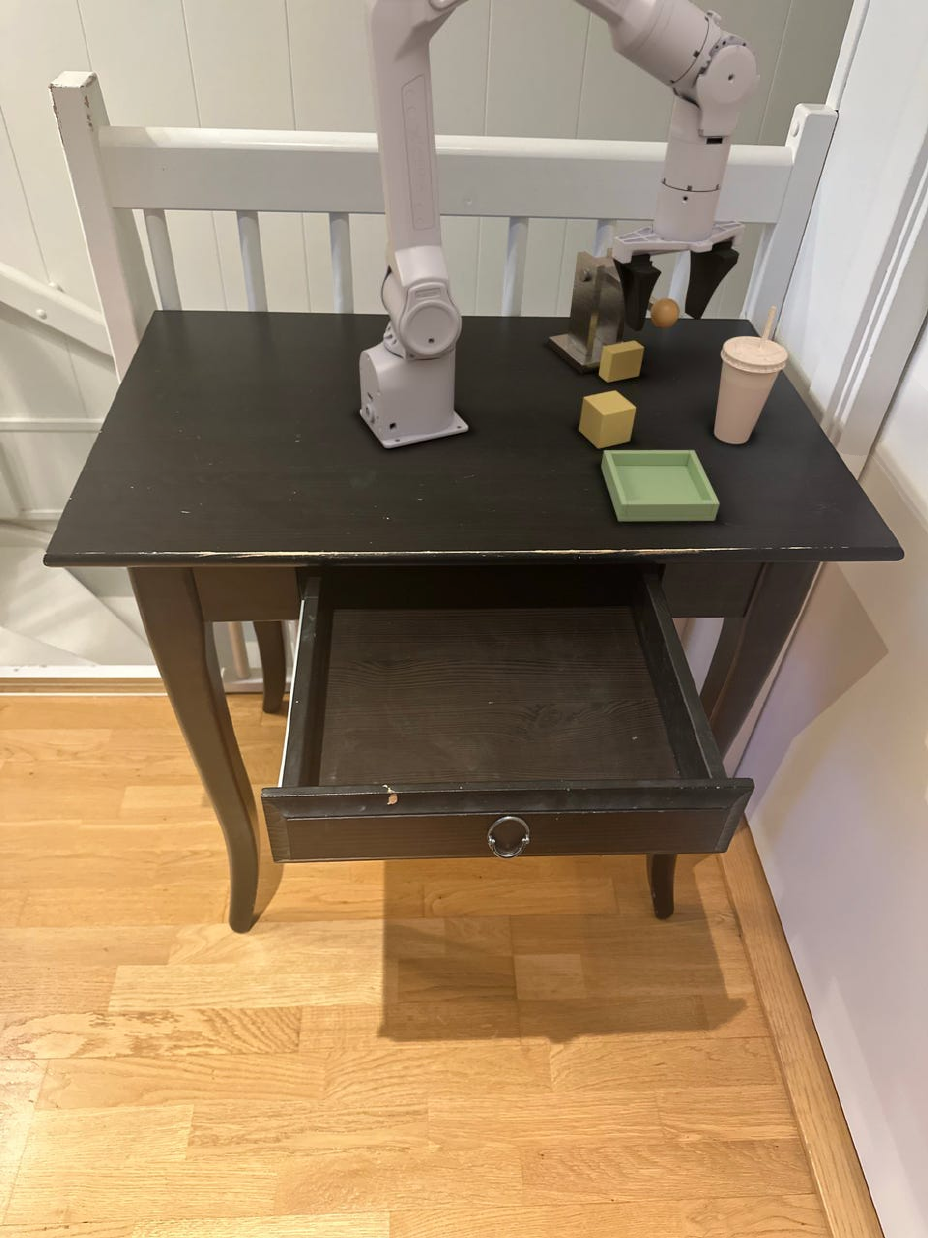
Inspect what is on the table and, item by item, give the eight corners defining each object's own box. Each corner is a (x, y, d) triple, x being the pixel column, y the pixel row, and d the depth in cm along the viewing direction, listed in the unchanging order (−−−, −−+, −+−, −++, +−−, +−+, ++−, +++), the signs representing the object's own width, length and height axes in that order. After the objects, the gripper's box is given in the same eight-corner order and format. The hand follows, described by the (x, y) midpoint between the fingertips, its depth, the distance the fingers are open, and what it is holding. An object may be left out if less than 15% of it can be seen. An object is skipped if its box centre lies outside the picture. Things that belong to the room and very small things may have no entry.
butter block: (638, 376, 99) (644, 347, 97) (607, 382, 98) (612, 353, 95) (629, 368, 101) (634, 340, 98) (598, 375, 99) (602, 346, 97)
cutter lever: (681, 330, 89) (688, 302, 87) (658, 334, 88) (664, 306, 86) (606, 278, 99) (610, 252, 97) (584, 282, 98) (588, 256, 96)
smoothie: (763, 454, 87) (805, 324, 78) (701, 446, 88) (734, 316, 79) (760, 423, 92) (799, 297, 82) (700, 416, 93) (732, 290, 83)
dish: (618, 521, 78) (621, 503, 77) (600, 467, 85) (603, 449, 83) (714, 520, 79) (720, 503, 77) (690, 466, 85) (694, 449, 84)
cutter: (637, 362, 102) (655, 263, 94) (581, 374, 99) (595, 273, 91) (602, 335, 107) (616, 239, 99) (547, 345, 104) (558, 248, 96)
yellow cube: (598, 449, 87) (603, 414, 84) (578, 430, 90) (583, 396, 87) (630, 441, 88) (636, 407, 86) (609, 423, 91) (615, 389, 88)
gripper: (652, 203, 75) (627, 348, 84) (778, 187, 80) (741, 325, 89) (609, 180, 79) (590, 320, 89) (731, 166, 84) (701, 300, 94)
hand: (663, 321), depth 89 cm, fingers open, 7 cm apart
